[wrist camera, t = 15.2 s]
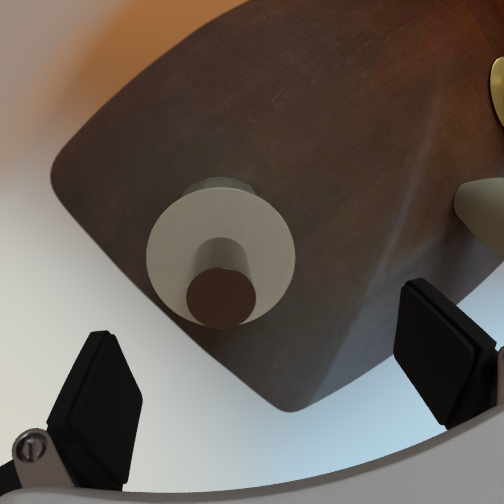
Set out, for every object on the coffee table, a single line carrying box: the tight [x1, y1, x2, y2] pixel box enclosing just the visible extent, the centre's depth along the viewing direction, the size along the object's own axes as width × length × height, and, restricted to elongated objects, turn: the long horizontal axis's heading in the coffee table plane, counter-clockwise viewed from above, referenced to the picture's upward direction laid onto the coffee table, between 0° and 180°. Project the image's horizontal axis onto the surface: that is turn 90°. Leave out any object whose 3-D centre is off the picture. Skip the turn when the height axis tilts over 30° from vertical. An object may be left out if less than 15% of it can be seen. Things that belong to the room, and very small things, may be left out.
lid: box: [146, 186, 295, 329], centre depth 21 cm, size 11×11×7 cm
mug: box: [454, 178, 504, 258], centre depth 28 cm, size 11×10×12 cm
